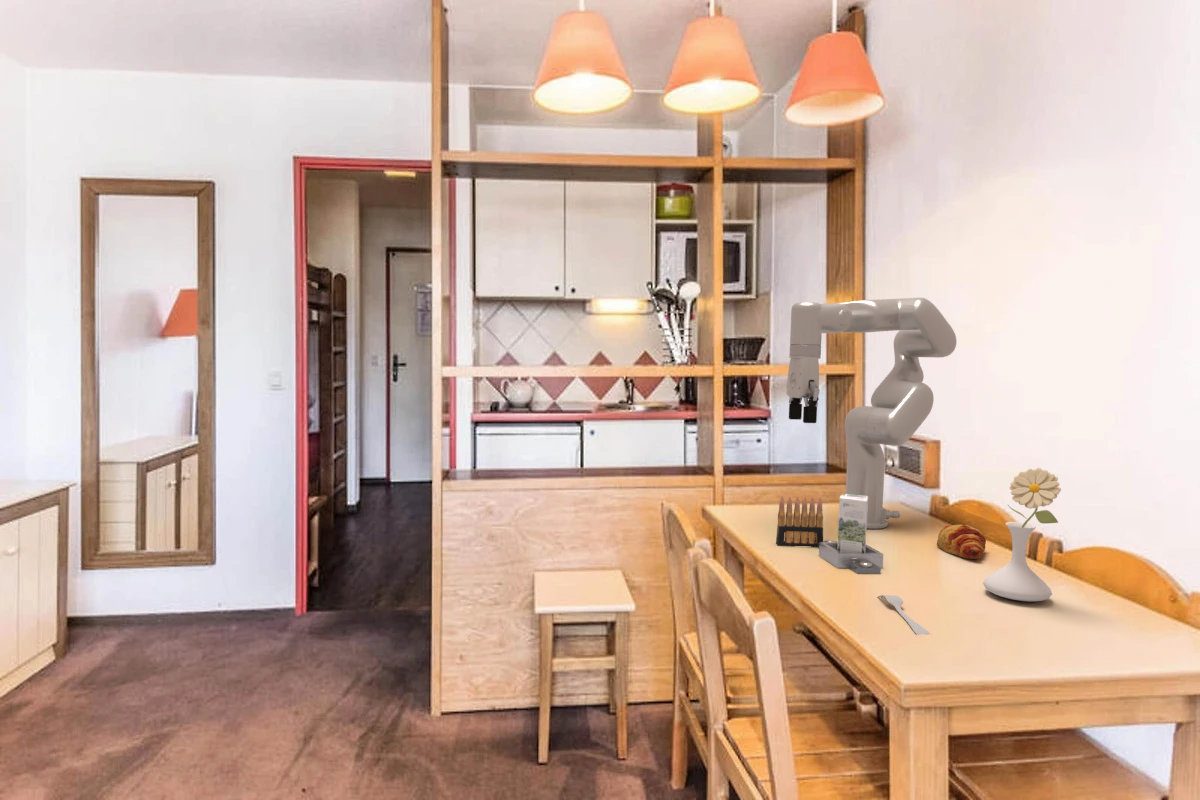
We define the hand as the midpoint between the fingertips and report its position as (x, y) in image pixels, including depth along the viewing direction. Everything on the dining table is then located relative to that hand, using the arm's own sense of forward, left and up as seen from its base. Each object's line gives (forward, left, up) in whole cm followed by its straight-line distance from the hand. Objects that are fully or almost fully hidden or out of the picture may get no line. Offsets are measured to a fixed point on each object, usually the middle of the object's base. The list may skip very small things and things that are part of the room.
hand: (802, 421), depth 187 cm
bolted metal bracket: (-2, +24, -28) cm, 37 cm away
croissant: (-33, +17, -29) cm, 47 cm away
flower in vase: (-24, +51, -28) cm, 63 cm away
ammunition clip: (+4, +12, -29) cm, 32 cm away
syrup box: (-2, +26, -28) cm, 39 cm away
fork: (+4, +59, -29) cm, 66 cm away
